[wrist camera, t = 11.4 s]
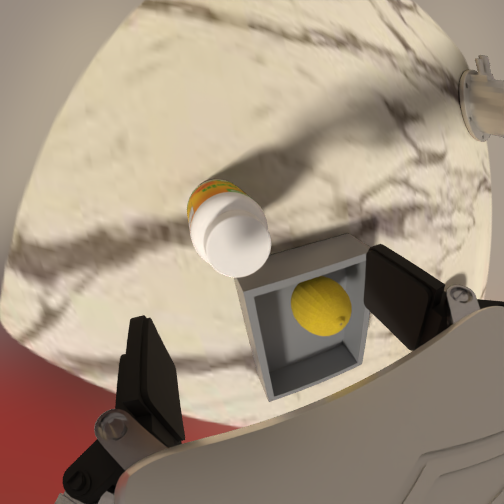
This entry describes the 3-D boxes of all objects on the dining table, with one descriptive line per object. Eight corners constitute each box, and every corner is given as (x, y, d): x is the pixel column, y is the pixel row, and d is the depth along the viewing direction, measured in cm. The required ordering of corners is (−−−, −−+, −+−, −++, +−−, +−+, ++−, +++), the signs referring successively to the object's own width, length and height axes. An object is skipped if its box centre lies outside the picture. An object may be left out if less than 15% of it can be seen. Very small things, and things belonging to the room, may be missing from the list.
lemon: (290, 260, 28) (330, 290, 21) (331, 272, 30) (375, 300, 23) (272, 307, 29) (303, 348, 22) (313, 315, 31) (350, 351, 24)
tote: (231, 266, 27) (243, 291, 23) (348, 233, 30) (375, 250, 25) (257, 374, 35) (268, 401, 31) (344, 342, 37) (361, 364, 33)
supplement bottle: (246, 178, 24) (287, 203, 16) (243, 234, 26) (278, 284, 18) (186, 178, 23) (193, 203, 14) (186, 236, 25) (195, 291, 16)
